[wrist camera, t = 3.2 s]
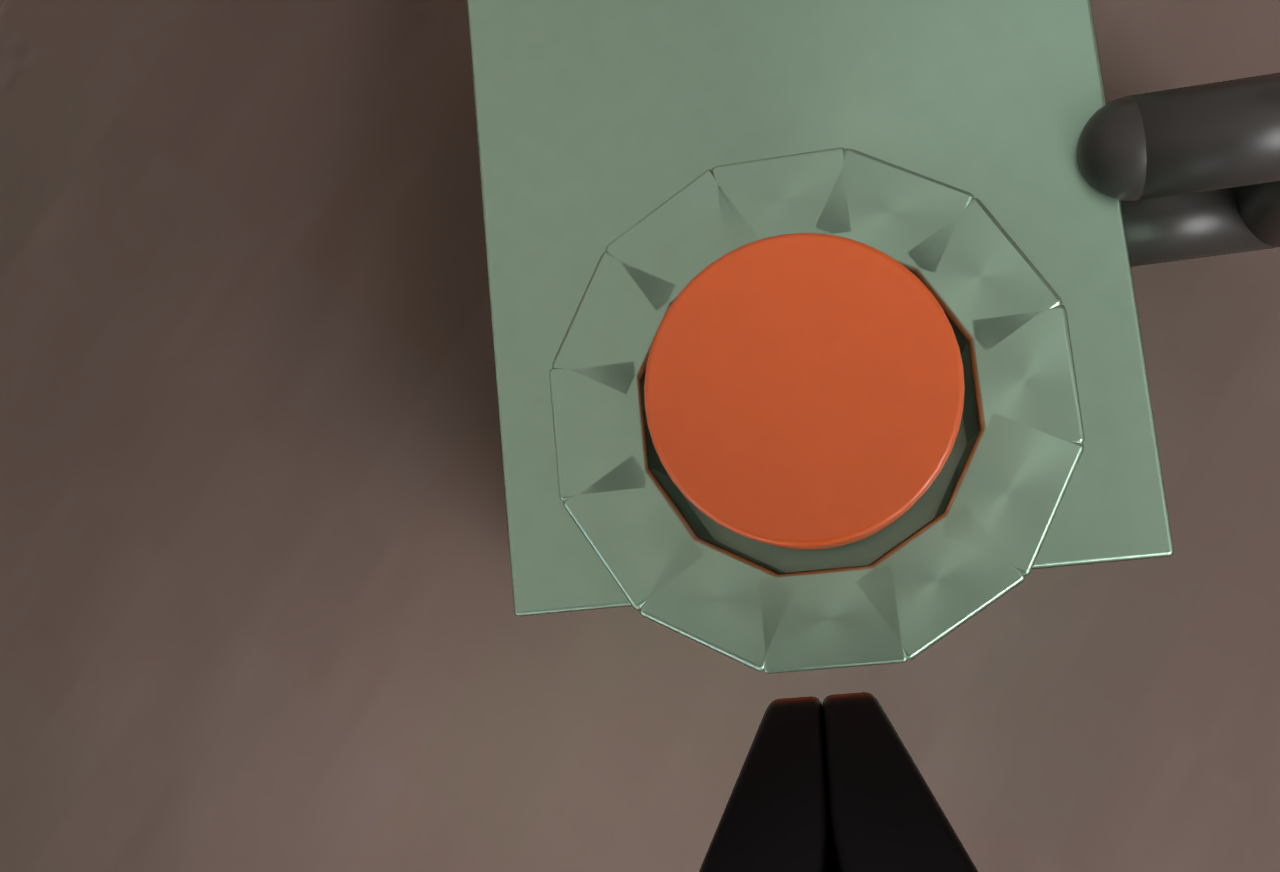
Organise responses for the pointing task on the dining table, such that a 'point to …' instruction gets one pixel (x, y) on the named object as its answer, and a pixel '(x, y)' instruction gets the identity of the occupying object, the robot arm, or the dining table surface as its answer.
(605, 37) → the green button housing
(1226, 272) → the dining table surface
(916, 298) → the push button
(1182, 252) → the handle
